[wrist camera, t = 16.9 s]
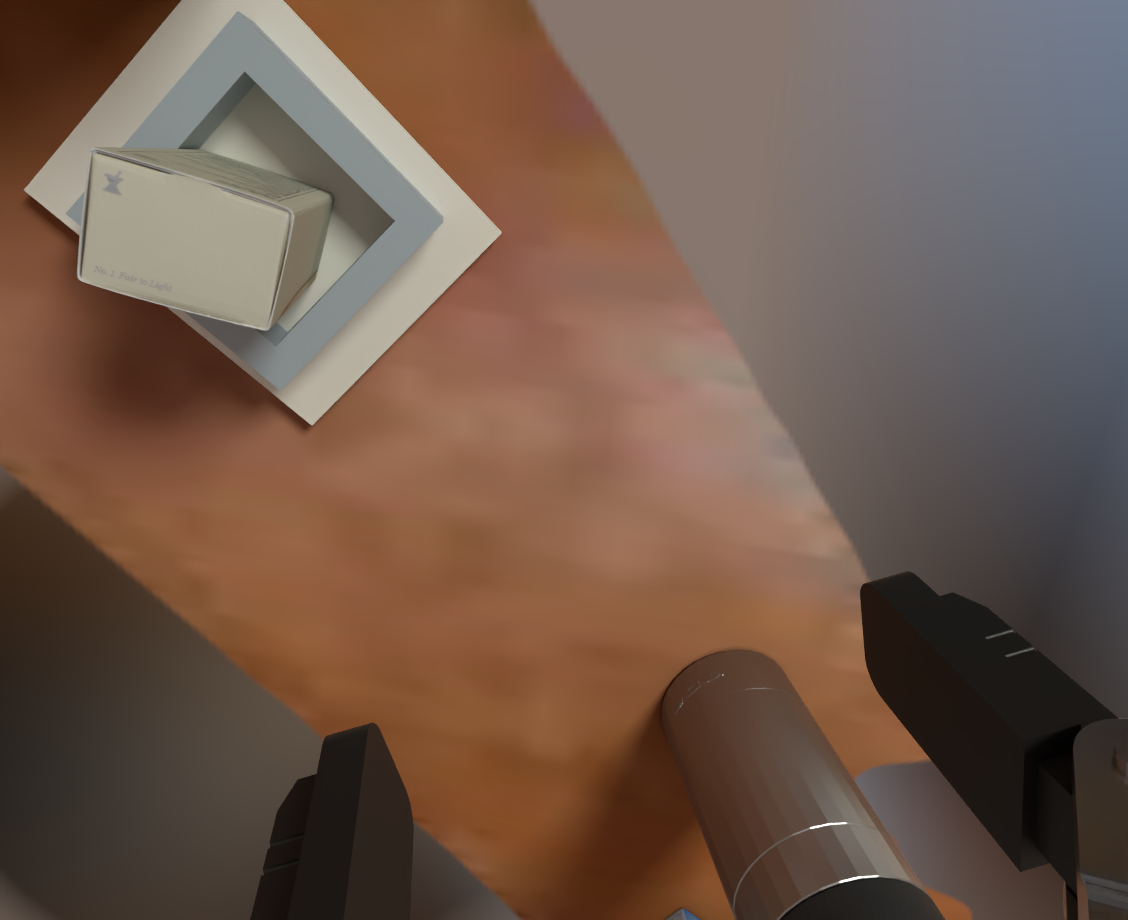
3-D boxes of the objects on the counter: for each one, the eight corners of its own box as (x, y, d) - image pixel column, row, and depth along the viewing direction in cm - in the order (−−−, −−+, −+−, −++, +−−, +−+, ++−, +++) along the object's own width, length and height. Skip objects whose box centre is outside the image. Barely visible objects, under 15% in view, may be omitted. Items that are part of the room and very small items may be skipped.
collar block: (500, 231, 38) (506, 239, 34) (315, 419, 40) (302, 446, 37) (234, -52, 32) (208, -77, 28) (34, 189, 34) (-14, 193, 31)
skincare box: (184, 240, 35) (64, 283, 24) (200, 143, 34) (80, 140, 23) (321, 281, 37) (268, 339, 26) (342, 190, 35) (295, 209, 24)
